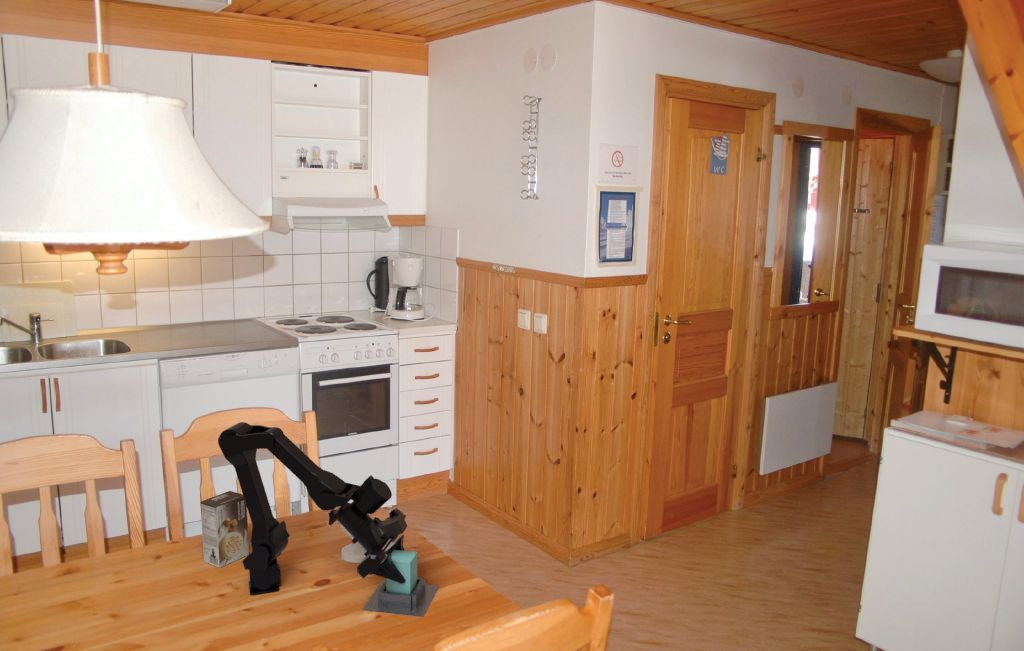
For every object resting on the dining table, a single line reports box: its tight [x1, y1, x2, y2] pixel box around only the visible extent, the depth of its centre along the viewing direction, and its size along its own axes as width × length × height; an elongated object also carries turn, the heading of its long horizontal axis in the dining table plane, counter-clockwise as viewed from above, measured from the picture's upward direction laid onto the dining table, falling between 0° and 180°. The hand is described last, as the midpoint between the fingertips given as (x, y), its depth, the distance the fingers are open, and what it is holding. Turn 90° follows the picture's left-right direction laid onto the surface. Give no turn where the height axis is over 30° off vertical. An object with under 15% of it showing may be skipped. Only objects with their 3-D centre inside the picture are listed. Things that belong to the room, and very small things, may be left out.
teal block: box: [385, 550, 418, 594], centre depth 178 cm, size 6×6×10 cm
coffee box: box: [199, 490, 250, 569], centre depth 197 cm, size 9×6×16 cm
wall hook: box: [339, 524, 366, 564], centre depth 199 cm, size 9×10×10 cm
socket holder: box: [361, 576, 441, 618], centre depth 178 cm, size 14×14×4 cm
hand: (407, 576), depth 177 cm, fingers closed on teal block, 5 cm apart
